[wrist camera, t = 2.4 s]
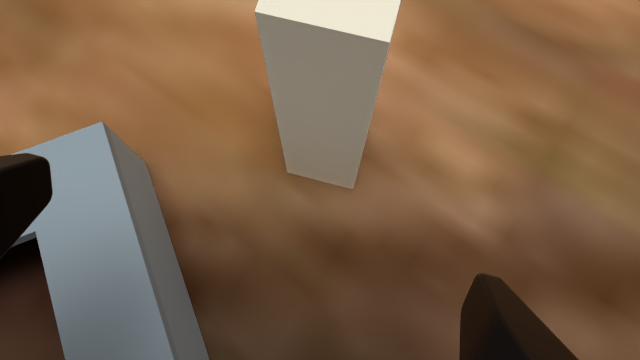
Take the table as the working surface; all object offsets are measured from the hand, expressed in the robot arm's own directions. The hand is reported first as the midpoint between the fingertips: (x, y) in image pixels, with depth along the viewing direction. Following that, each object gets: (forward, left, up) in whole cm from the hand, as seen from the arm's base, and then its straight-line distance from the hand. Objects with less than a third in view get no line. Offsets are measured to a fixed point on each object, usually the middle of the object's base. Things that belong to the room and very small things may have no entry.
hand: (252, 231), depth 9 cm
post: (+6, -4, -13) cm, 15 cm away
